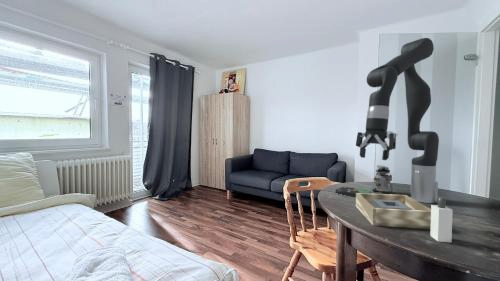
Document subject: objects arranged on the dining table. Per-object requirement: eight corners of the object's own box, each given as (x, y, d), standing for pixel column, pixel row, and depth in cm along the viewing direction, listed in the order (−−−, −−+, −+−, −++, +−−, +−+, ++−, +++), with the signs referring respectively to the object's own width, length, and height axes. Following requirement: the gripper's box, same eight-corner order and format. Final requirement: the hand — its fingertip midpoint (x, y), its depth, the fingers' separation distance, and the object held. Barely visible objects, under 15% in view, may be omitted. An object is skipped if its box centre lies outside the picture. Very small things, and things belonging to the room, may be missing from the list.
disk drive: (335, 194, 116) (365, 200, 106) (335, 189, 116) (364, 194, 106) (342, 191, 124) (371, 196, 113) (342, 186, 124) (371, 190, 113)
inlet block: (398, 210, 89) (398, 200, 89) (411, 219, 79) (412, 209, 79) (372, 208, 91) (372, 199, 91) (382, 217, 81) (382, 207, 81)
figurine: (370, 194, 115) (370, 166, 115) (374, 189, 124) (375, 163, 123) (390, 197, 109) (391, 167, 109) (393, 192, 118) (394, 165, 118)
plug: (443, 236, 69) (444, 196, 68) (451, 242, 65) (452, 199, 64) (430, 235, 69) (431, 195, 69) (437, 241, 66) (439, 199, 65)
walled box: (405, 208, 93) (405, 195, 93) (436, 229, 73) (437, 212, 73) (355, 206, 97) (356, 193, 96) (372, 225, 77) (373, 208, 77)
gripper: (401, 119, 82) (397, 161, 82) (364, 120, 94) (361, 157, 94) (392, 116, 78) (387, 160, 78) (355, 117, 90) (350, 156, 90)
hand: (373, 158), depth 86 cm, fingers open, 8 cm apart
